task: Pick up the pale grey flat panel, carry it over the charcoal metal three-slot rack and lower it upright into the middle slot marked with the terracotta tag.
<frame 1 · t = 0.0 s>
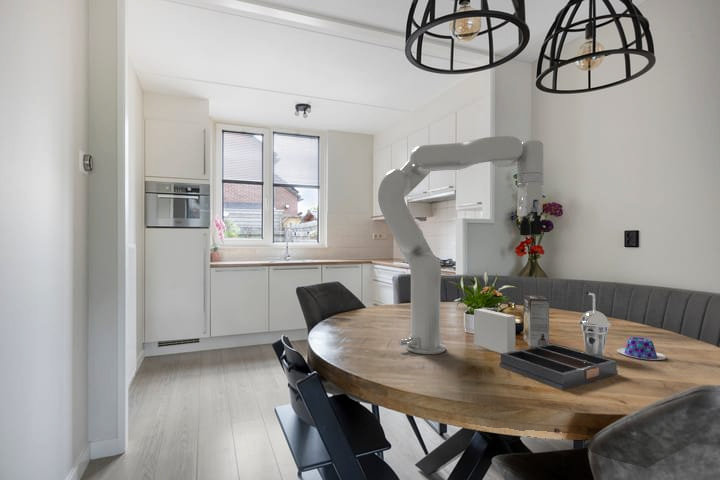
hand: (530, 234, 114), 37 cm above the table, tool pointing down, fingers open, 9 cm apart
cup with straw: (593, 356, 111), on the table
rack: (556, 370, 98), on the table
pudding: (640, 356, 112), on the table
panel: (493, 349, 118), on the table
coffee box: (536, 344, 124), on the table
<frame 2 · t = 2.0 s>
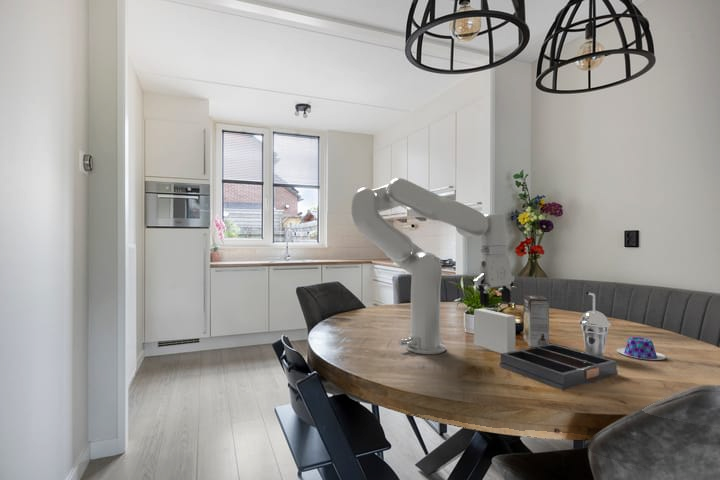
hand: (495, 303, 118), 15 cm above the table, tool pointing down, fingers open, 9 cm apart
nothing on the table moved.
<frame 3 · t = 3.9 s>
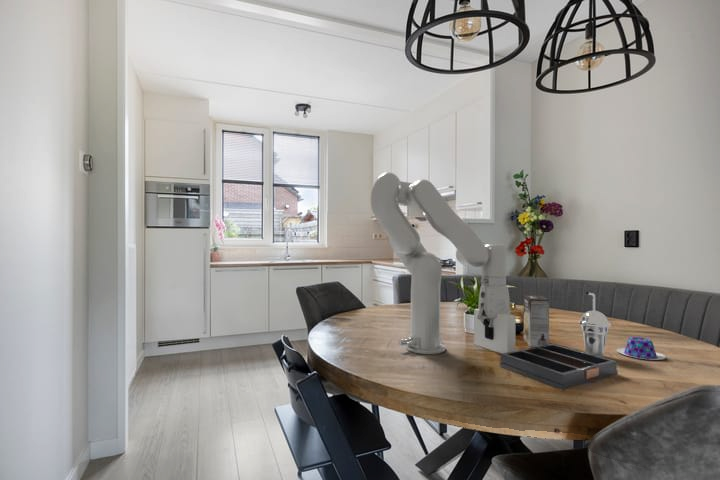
hand: (493, 337, 118), 4 cm above the table, tool pointing down, fingers closed on panel, 3 cm apart
panel: (493, 349, 118), on the table, touching gripper
everything else where it was.
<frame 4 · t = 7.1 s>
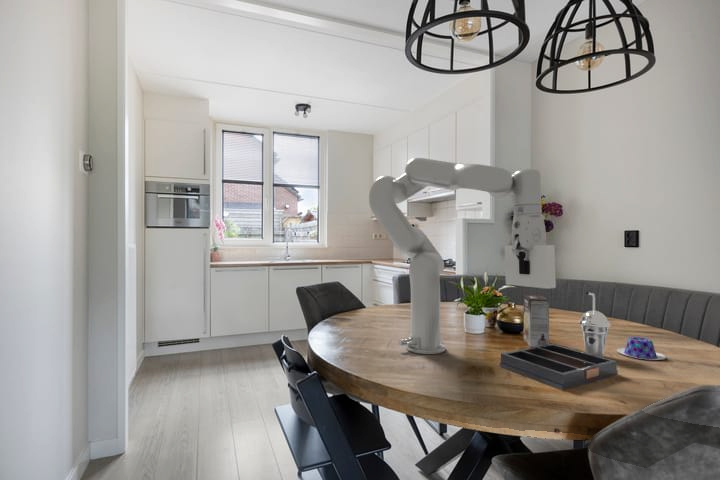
hand: (529, 273, 107), 26 cm above the table, tool pointing down, fingers closed on panel, 3 cm apart
panel: (529, 285, 107), point 22 cm above the table, touching gripper
everything else where it was.
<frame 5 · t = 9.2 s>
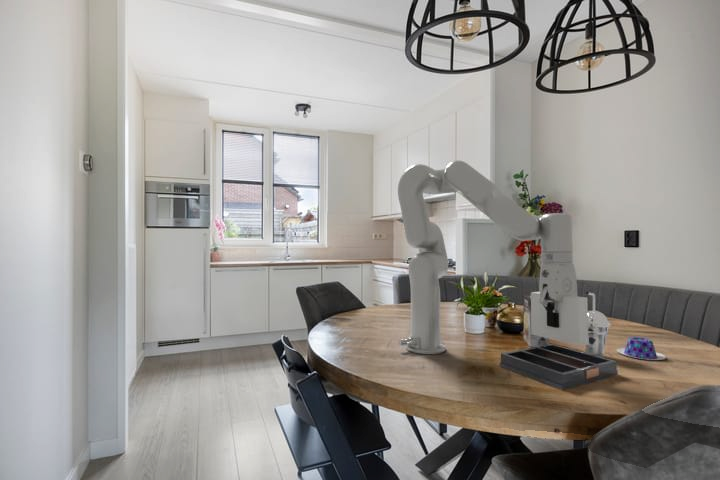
hand: (558, 325, 98), 12 cm above the table, tool pointing down, fingers closed on panel, 3 cm apart
panel: (558, 339, 98), point 9 cm above the table, touching gripper
everything else where it was.
when the fingers open (6 cm above the table, at t = 10.8 s): panel stays where it is, resting on rack.
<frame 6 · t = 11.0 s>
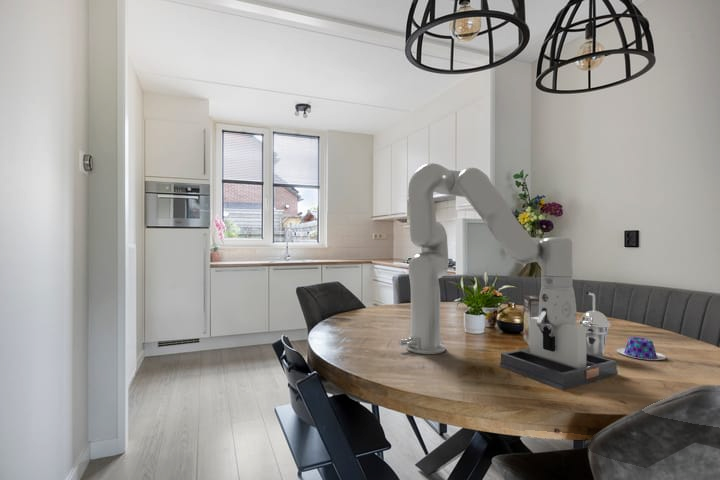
hand: (556, 348, 98), 6 cm above the table, tool pointing down, fingers open, 5 cm apart
panel: (556, 365, 99), point 1 cm above the table, touching rack
everything else where it was.
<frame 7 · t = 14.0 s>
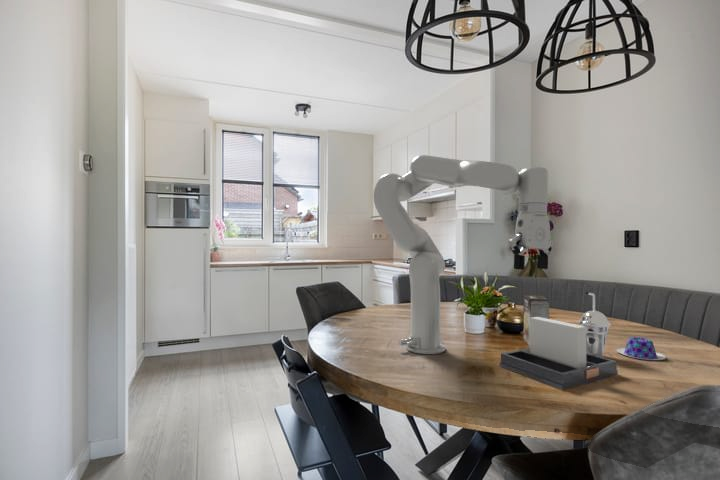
hand: (530, 269, 105), 27 cm above the table, tool pointing down, fingers open, 9 cm apart
nothing on the table moved.
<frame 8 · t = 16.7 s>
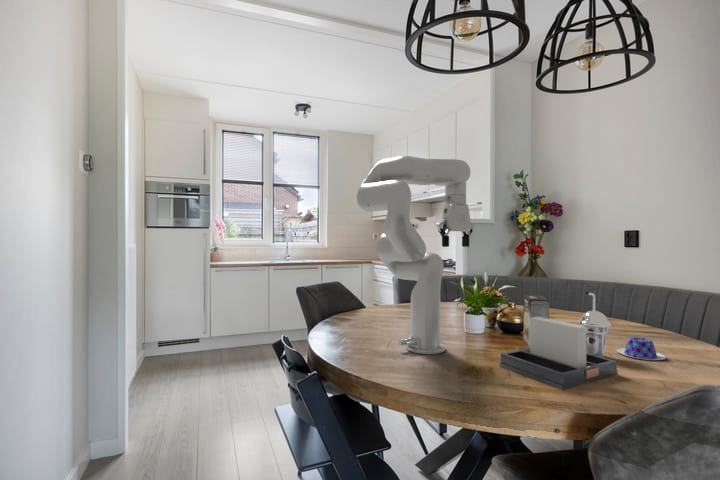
hand: (455, 246, 134), 33 cm above the table, tool pointing down, fingers open, 9 cm apart
nothing on the table moved.
at the end: panel 0.1 cm off-centre on the rack, point 1.1 cm above the rack's base; panel tilted 0°; the gripper is holding nothing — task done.
